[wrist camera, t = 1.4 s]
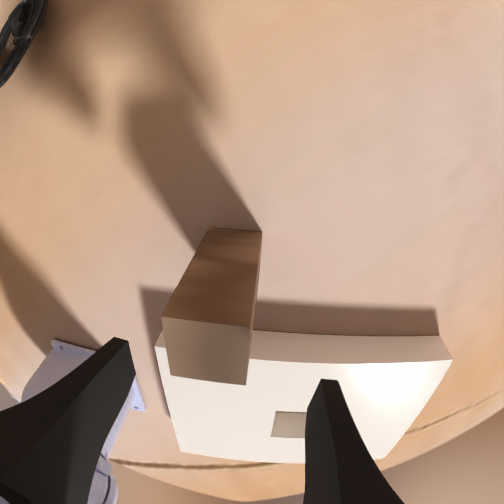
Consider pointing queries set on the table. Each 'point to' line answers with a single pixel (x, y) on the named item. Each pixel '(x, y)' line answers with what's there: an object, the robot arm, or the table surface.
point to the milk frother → (21, 33)
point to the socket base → (305, 393)
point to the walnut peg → (215, 309)
